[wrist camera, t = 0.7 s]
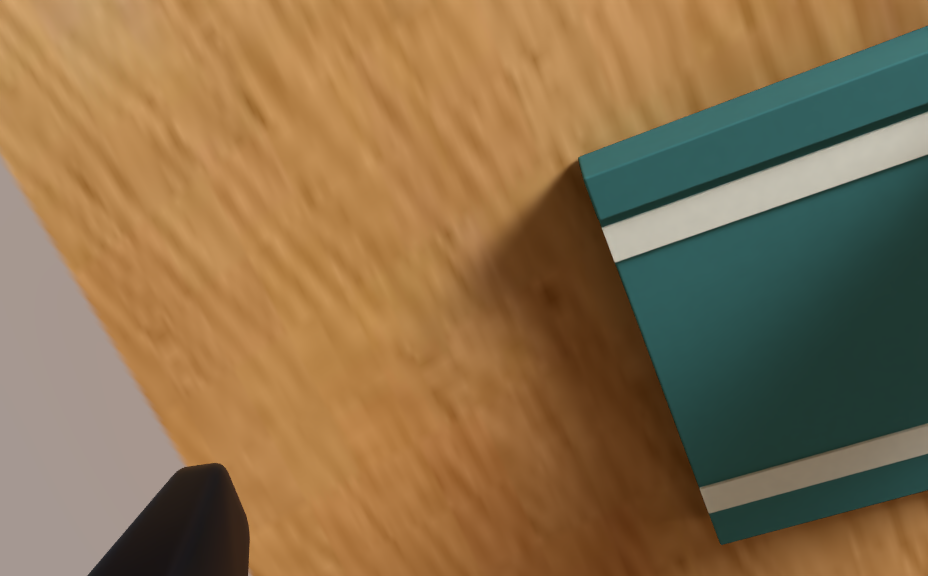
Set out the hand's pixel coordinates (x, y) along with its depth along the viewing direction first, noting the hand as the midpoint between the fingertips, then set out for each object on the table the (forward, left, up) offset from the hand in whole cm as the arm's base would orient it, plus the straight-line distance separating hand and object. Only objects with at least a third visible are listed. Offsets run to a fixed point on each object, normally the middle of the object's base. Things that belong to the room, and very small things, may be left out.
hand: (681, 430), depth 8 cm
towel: (-9, -5, -14) cm, 17 cm away
